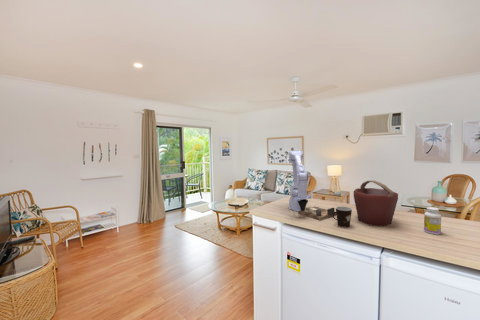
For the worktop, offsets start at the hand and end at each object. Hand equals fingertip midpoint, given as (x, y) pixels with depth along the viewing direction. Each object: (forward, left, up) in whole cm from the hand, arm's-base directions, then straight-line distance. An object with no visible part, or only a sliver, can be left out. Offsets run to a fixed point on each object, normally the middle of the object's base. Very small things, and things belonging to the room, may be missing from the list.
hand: (302, 210), depth 141 cm
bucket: (+31, +28, -5) cm, 42 cm away
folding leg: (+1, +7, -2) cm, 7 cm away
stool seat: (+2, +13, -4) cm, 13 cm away
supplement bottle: (+57, +35, -5) cm, 67 cm away
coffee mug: (+23, +7, -5) cm, 24 cm away
